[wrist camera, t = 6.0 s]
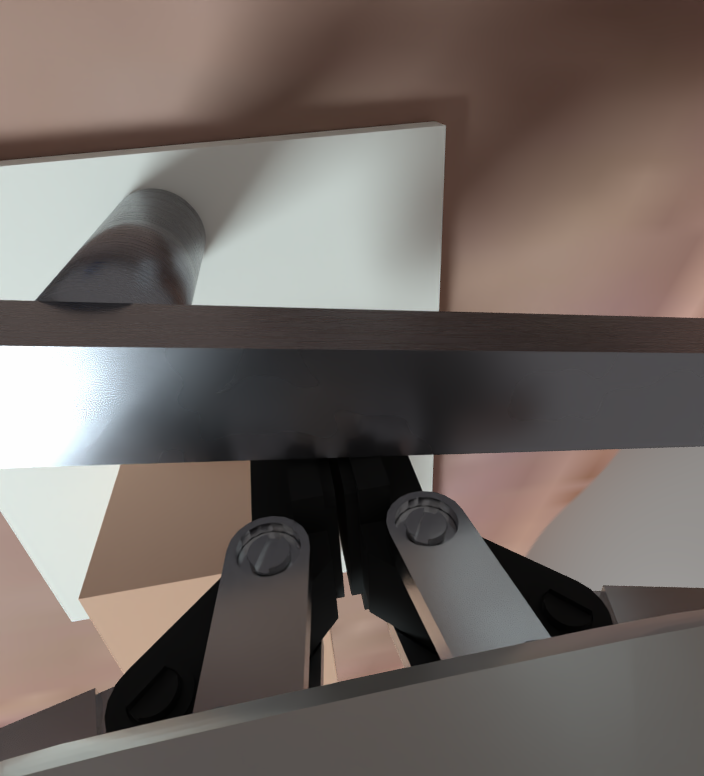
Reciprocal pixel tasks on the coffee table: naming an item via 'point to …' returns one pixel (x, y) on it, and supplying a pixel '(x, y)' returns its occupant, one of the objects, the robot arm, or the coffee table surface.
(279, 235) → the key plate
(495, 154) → the coffee table surface
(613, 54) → the coffee table surface
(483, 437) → the lever handle
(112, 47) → the coffee table surface
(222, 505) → the tan block
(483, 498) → the coffee table surface
